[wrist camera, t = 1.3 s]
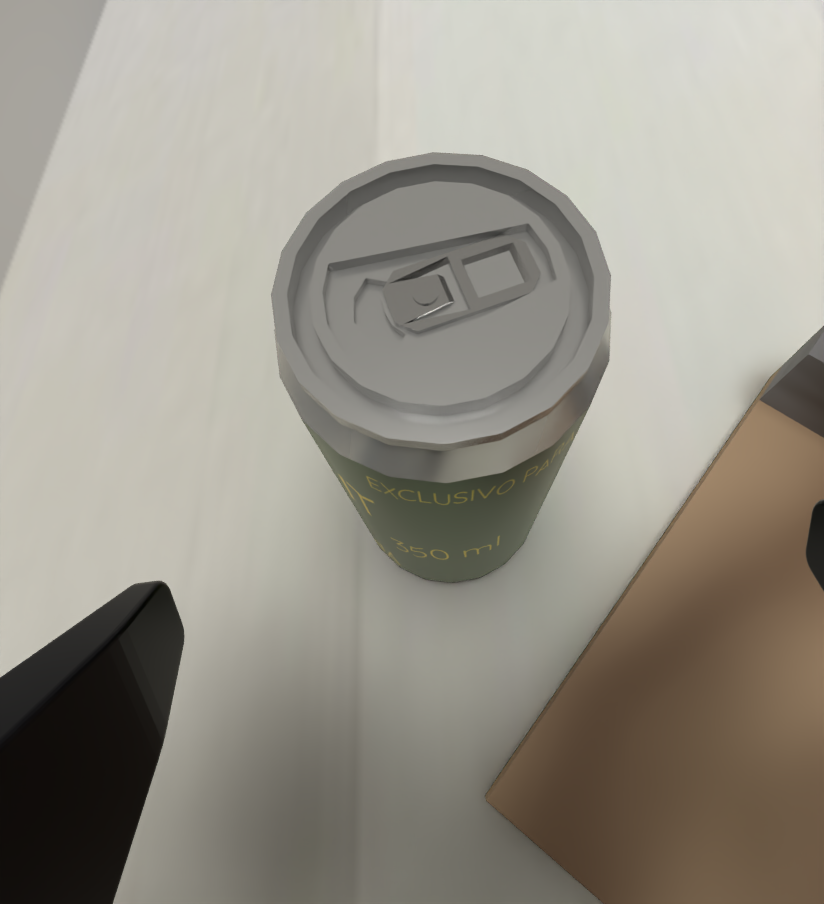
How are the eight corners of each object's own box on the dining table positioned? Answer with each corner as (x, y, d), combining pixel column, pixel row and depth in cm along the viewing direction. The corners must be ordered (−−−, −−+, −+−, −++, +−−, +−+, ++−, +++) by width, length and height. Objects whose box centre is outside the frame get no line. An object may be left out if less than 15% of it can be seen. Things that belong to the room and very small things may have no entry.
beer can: (496, 403, 21) (539, 100, 10) (561, 551, 20) (699, 381, 8) (346, 455, 21) (219, 203, 10) (397, 610, 19) (313, 518, 8)
